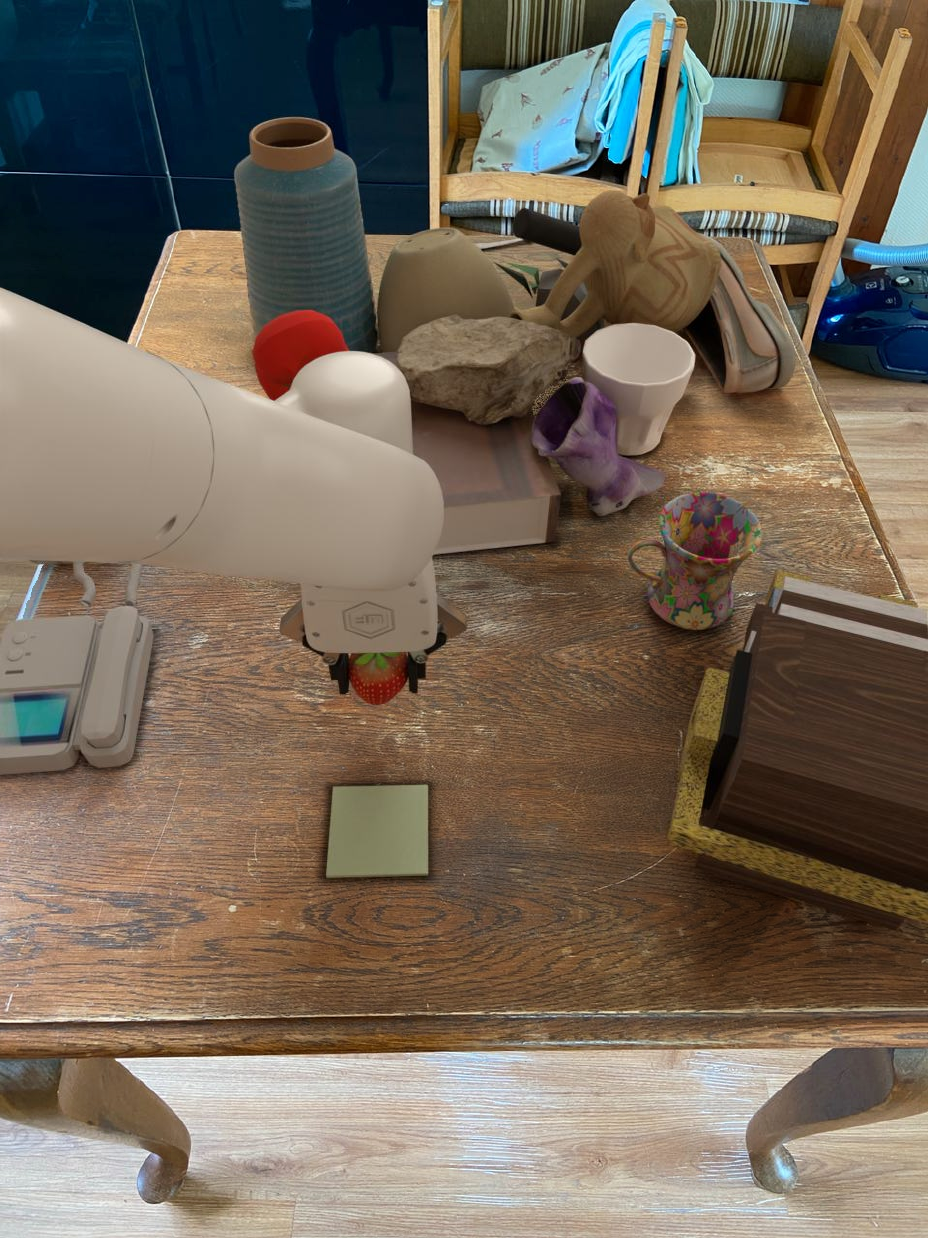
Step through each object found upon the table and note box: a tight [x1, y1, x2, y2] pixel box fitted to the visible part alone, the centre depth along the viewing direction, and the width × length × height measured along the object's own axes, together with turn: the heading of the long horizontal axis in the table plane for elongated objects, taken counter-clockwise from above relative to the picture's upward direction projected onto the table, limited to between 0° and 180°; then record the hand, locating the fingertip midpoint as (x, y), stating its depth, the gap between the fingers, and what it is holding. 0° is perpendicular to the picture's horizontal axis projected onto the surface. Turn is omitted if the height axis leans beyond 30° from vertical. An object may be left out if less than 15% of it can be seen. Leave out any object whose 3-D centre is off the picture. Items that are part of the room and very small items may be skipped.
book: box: [373, 352, 562, 555], centre depth 101 cm, size 24×28×6 cm
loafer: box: [680, 232, 797, 394], centre depth 118 cm, size 11×30×9 cm
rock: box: [396, 314, 581, 426], centre depth 101 cm, size 16×10×20 cm
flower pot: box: [376, 227, 516, 353], centre depth 115 cm, size 18×18×12 cm
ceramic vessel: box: [509, 190, 722, 338], centre depth 109 cm, size 17×20×25 cm
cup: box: [582, 323, 696, 456], centre depth 104 cm, size 12×12×11 cm
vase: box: [233, 116, 379, 354], centre depth 110 cm, size 16×16×27 cm
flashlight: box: [512, 207, 582, 257], centre depth 124 cm, size 5×24×5 cm
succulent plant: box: [491, 257, 605, 353], centre depth 123 cm, size 16×20×9 cm
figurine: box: [532, 376, 666, 517], centre depth 98 cm, size 9×10×15 cm
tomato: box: [251, 310, 349, 401], centre depth 92 cm, size 10×11×6 cm
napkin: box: [325, 784, 429, 879], centre depth 74 cm, size 8×8×1 cm
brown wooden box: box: [666, 568, 928, 932], centre depth 72 cm, size 21×15×30 cm
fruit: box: [348, 652, 409, 706], centre depth 77 cm, size 5×5×8 cm
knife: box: [473, 237, 530, 250], centre depth 139 cm, size 19×2×1 cm, turn 107°
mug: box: [626, 491, 763, 631], centre depth 86 cm, size 12×9×11 cm
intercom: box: [0, 562, 155, 775], centre depth 84 cm, size 13×4×25 cm
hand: (379, 679), depth 77 cm, fingers closed on fruit, 5 cm apart
